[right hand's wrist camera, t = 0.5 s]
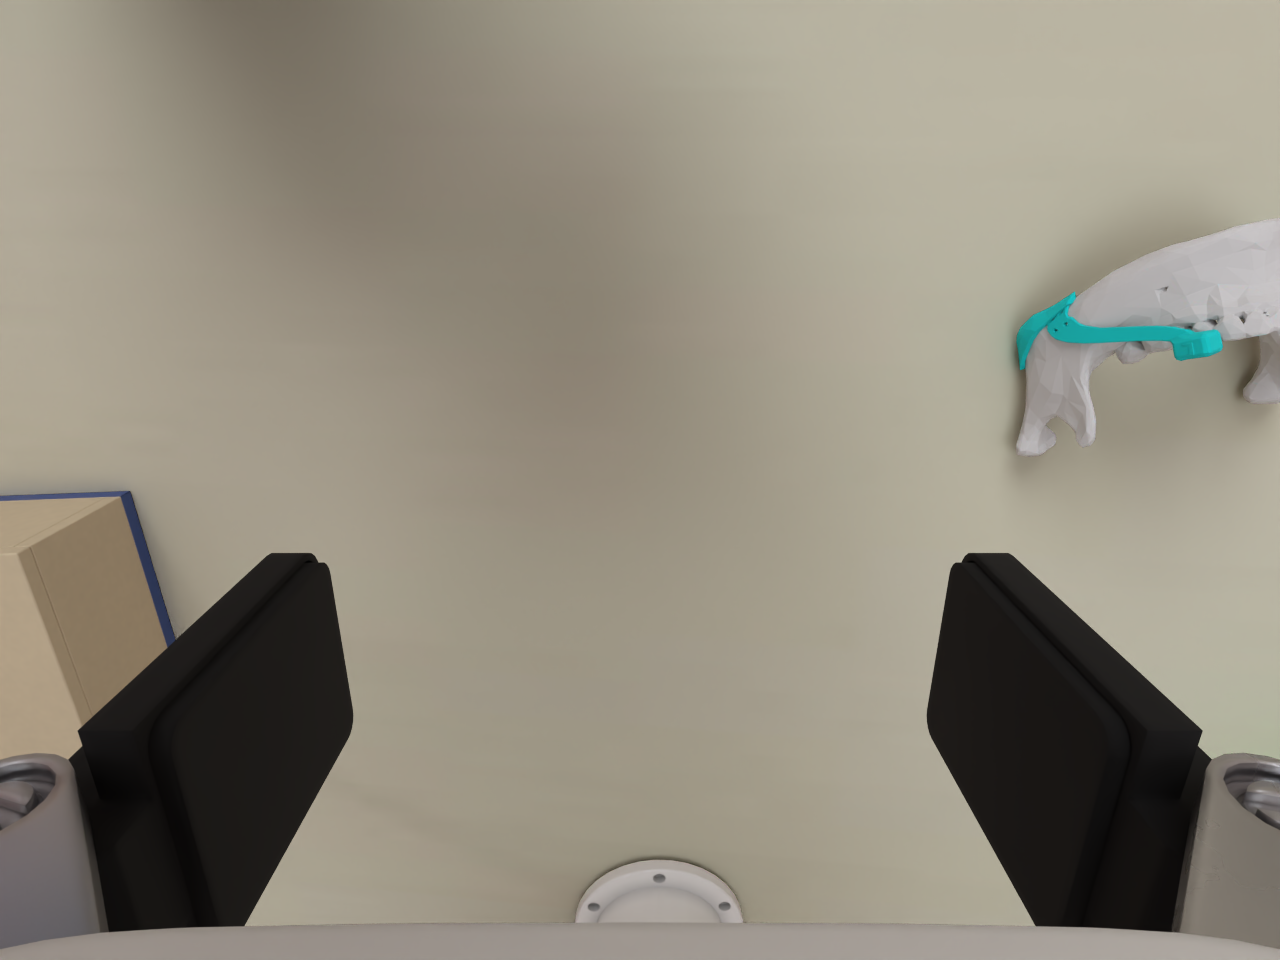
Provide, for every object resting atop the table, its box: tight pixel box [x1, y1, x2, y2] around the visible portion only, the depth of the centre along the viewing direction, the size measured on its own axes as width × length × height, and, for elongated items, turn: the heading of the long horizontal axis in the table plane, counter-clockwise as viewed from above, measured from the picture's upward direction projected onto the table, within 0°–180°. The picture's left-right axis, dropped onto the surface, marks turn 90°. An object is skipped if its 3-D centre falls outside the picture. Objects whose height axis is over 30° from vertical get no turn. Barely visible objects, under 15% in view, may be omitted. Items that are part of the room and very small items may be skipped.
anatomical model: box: [1016, 218, 1280, 457], centre depth 35 cm, size 15×10×10 cm
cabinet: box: [0, 491, 175, 760], centre depth 41 cm, size 13×11×8 cm
